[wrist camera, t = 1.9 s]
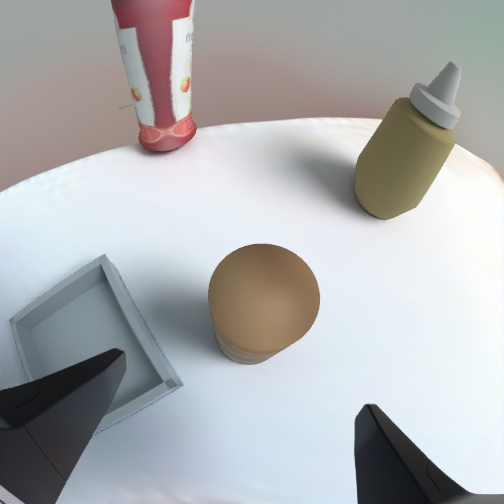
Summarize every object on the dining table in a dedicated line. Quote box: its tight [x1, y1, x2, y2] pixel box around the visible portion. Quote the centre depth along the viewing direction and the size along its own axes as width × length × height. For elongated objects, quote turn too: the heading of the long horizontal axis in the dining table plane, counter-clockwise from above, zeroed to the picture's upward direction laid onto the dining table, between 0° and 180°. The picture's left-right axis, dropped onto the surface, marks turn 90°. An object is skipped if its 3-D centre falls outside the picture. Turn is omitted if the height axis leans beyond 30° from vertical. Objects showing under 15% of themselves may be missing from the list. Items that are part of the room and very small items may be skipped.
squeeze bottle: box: [354, 62, 462, 219], centre depth 20 cm, size 8×8×18 cm
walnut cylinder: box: [208, 244, 320, 365], centre depth 16 cm, size 5×5×10 cm
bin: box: [10, 254, 184, 436], centre depth 17 cm, size 11×11×3 cm
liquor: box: [111, 0, 197, 152], centre depth 17 cm, size 7×7×28 cm
